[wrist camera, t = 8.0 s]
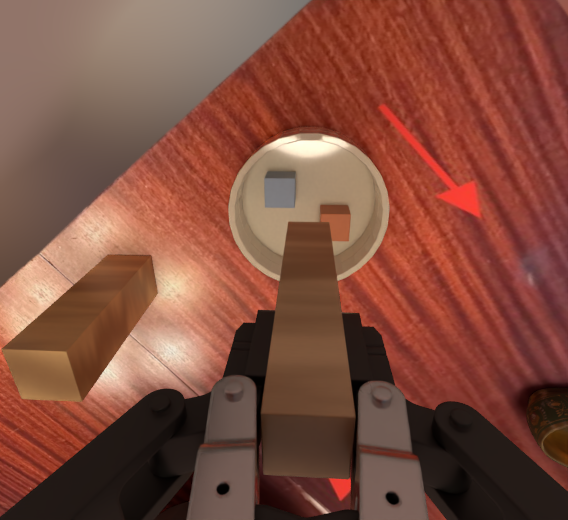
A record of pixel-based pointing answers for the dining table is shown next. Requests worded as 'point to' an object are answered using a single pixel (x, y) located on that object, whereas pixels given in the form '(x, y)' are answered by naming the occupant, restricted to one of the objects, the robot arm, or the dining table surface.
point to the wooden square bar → (308, 365)
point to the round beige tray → (309, 197)
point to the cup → (550, 422)
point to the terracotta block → (337, 220)
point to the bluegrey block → (280, 189)
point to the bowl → (174, 513)
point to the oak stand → (81, 330)
